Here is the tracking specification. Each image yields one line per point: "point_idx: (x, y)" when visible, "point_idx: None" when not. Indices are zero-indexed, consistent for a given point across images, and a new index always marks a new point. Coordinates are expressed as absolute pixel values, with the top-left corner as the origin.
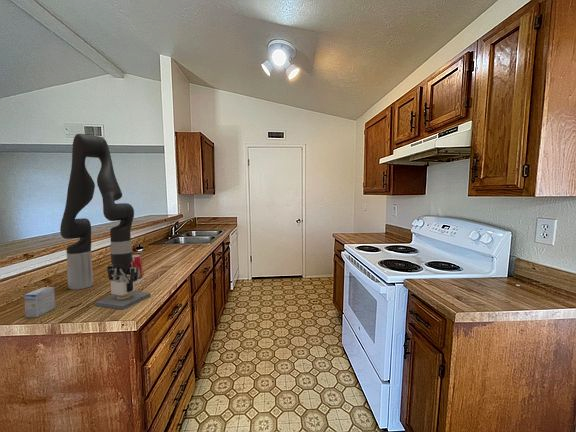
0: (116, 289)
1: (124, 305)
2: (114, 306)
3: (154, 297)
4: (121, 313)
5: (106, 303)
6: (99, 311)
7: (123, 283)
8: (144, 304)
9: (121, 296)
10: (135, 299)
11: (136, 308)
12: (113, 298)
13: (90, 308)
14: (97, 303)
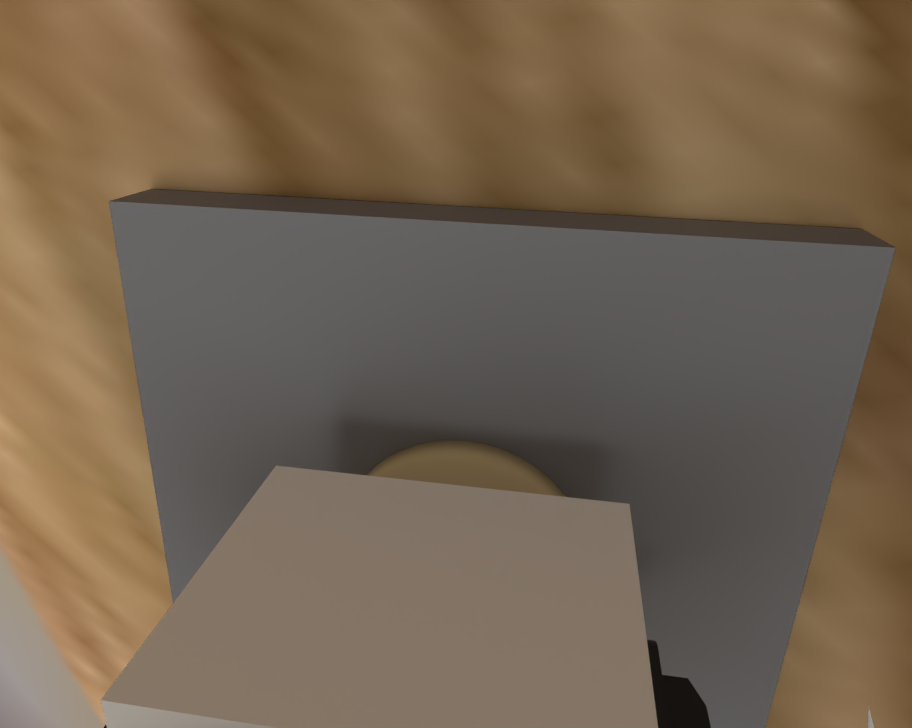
0: (434, 568)
1: (115, 242)
2: (322, 206)
3: None
4: (41, 60)
5: (556, 247)
6: (525, 19)
7: (123, 721)
8: (39, 440)
9: None
10: (179, 498)
11: (8, 293)
12: (628, 481)
13: (866, 95)
14: (807, 237)
